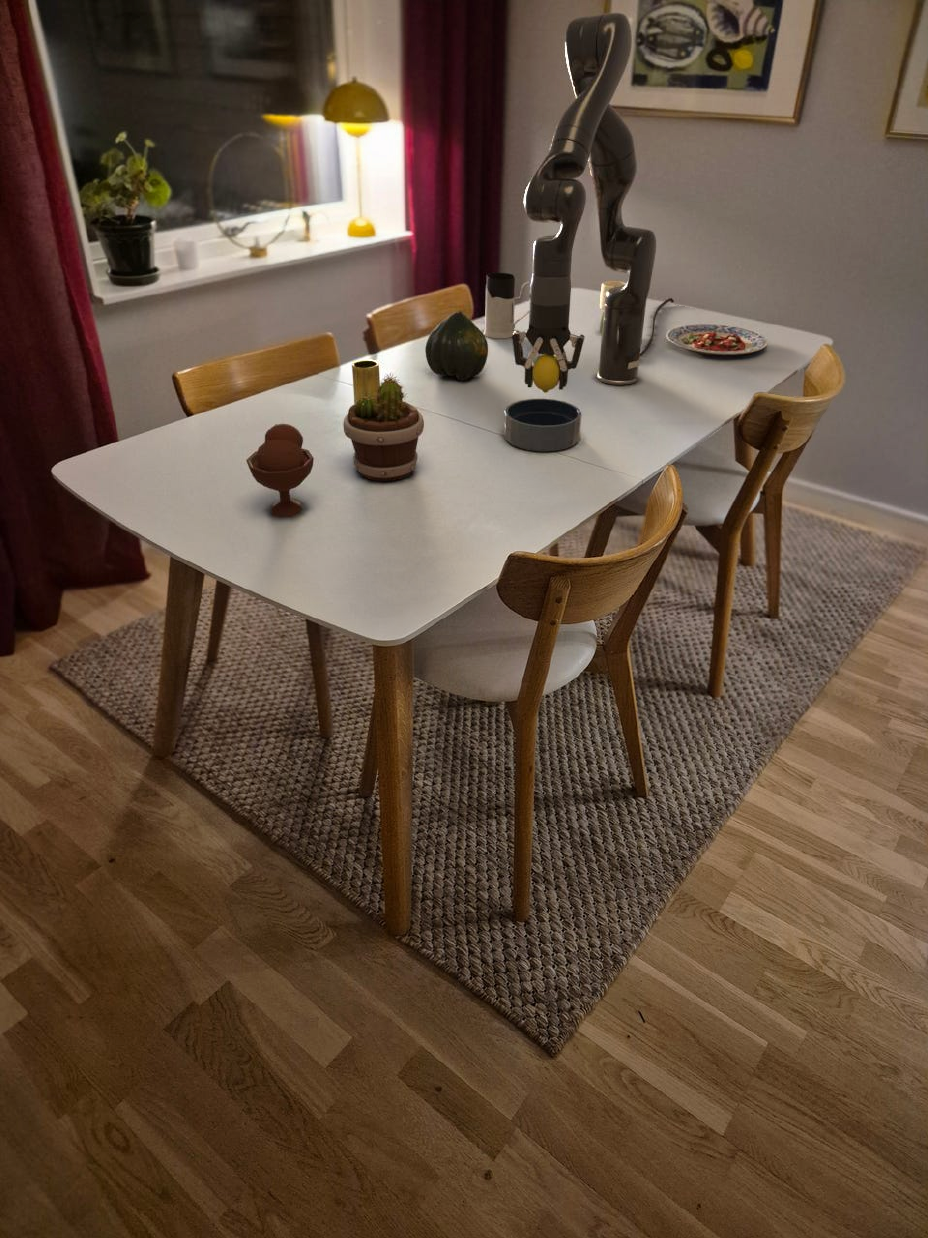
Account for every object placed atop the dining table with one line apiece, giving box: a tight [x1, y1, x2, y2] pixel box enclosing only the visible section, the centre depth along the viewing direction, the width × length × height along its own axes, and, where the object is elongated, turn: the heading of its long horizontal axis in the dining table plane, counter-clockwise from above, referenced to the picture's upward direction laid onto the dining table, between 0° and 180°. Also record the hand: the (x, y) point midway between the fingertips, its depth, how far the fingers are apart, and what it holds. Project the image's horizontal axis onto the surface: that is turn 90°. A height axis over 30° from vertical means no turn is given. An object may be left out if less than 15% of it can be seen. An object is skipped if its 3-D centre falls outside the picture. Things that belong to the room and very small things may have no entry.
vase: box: [351, 359, 381, 405], centre depth 169 cm, size 6×6×14 cm
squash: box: [424, 310, 489, 381], centre depth 200 cm, size 14×15×15 cm
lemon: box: [532, 354, 561, 394], centre depth 164 cm, size 6×6×8 cm
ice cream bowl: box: [245, 423, 315, 518], centre depth 141 cm, size 11×11×15 cm
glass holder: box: [482, 272, 531, 339], centre depth 226 cm, size 9×14×15 cm, turn 82°
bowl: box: [503, 398, 582, 453], centre depth 170 cm, size 15×15×6 cm
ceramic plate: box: [666, 323, 769, 357], centre depth 221 cm, size 26×26×3 cm
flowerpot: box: [342, 372, 425, 482], centre depth 153 cm, size 14×15×20 cm
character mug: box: [598, 280, 627, 333], centre depth 227 cm, size 11×7×13 cm, turn 146°
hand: (545, 386), depth 165 cm, fingers closed on lemon, 5 cm apart
